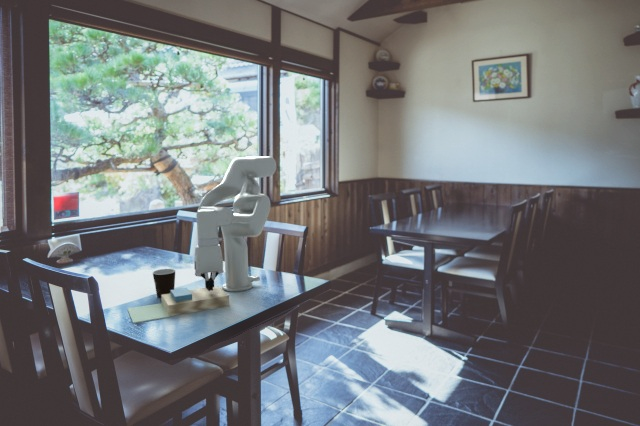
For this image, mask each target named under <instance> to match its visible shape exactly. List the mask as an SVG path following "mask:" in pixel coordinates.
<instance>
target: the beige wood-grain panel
mask: <svg viewBox="0 0 640 426" xmlns="http://www.w3.org/2000/svg"><path fill="white" fill-rule="evenodd" d="M188 290H189V289H188ZM189 291H190V292H191V293H192V300H185V301H179V302H175V301H174V299H173V298H172V296H171V293H169V294H163V295H161V298H160V299H161V303H162V305H163V307H164V308H165V310H166V311H167V313H168V315H169V316H170V317H172V316H180V315H184V314H191V313H195V312H196V313H197V312H202V311H207V310H215V309H220V308H224V307H225V308H226V307H230V295H229V293H227V291H226V290H223V289H222V287H220V286H219V285H217V286H215V285H214V287H213V290H210V291H208V290H207V288H206V287H204V288H197V289H190V290H189Z"/></svg>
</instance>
